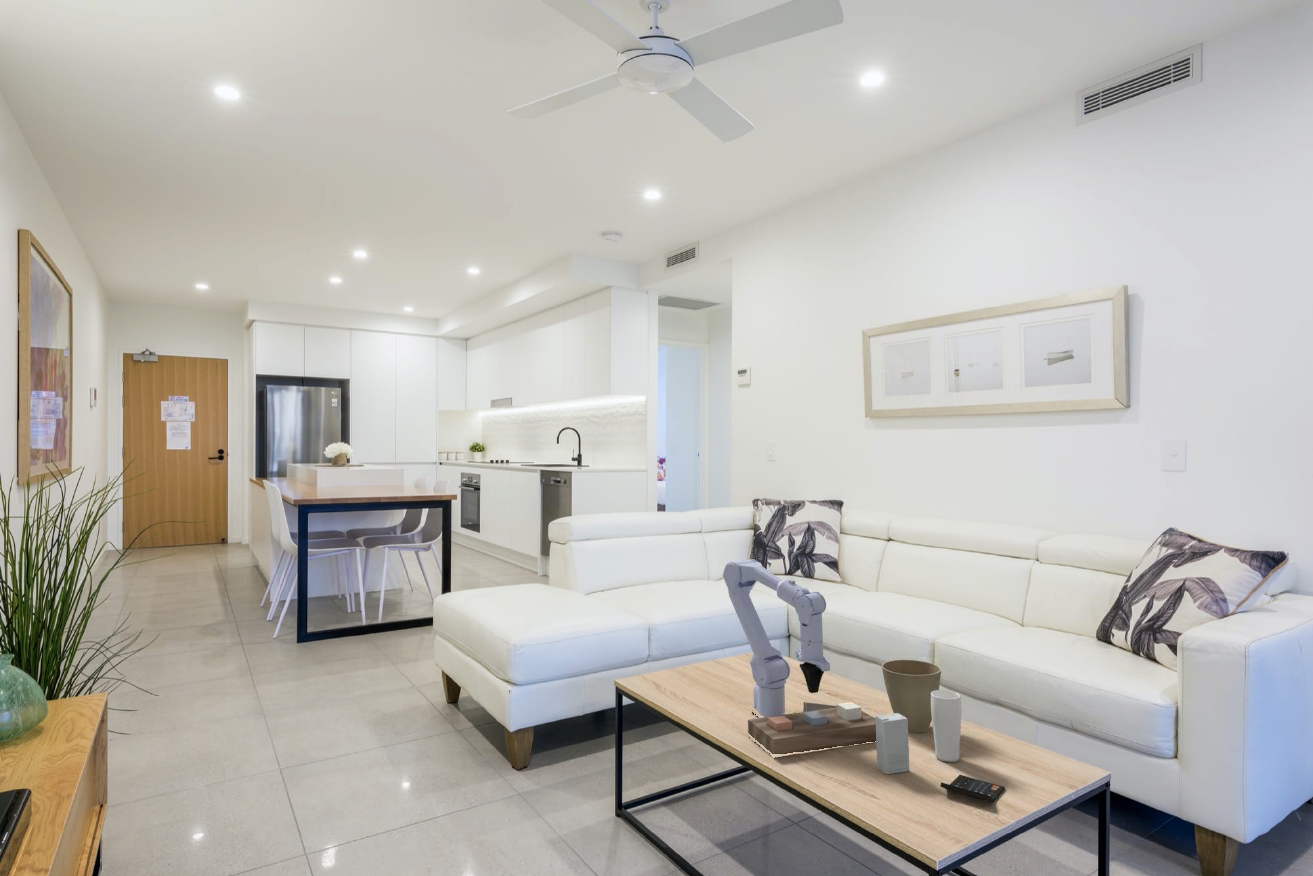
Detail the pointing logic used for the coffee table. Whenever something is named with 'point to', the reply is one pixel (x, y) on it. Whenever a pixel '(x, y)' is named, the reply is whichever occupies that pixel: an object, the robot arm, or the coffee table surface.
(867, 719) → the board
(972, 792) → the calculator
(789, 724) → the pink cube
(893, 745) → the skincare box
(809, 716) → the slate key
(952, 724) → the drinking glass
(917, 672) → the plant pot
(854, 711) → the ivory key
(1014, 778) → the coffee table surface
